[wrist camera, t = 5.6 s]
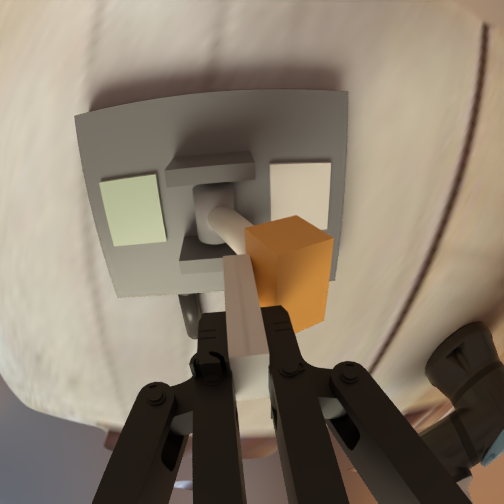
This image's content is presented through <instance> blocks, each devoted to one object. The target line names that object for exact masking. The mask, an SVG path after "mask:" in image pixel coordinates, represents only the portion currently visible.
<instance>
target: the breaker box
mask: <svg viewBox="0 0 504 504" xmlns="http://www.w3.org/2000/svg"><path fill="white" fill-rule="evenodd" d="M74 118H75V125H76V132H77V139H78V145H79V151H80V157H81V163H82V168H83V173H84V178H85V183H86V188H87V192H88V197H89V201H90V205H91V210H92V214H93V218H94V222H95V226H96V229H97V233H98V237H99V240H100V244H101V247H102V251H103V254H104V258H105V261H106V264H107V267H108V271H109V274H110V277H111V280H112V283H113V286H114V289H115V292H116V295H117V298H121V297H141V296H159V295H175V294H178V296H179V301H180V305H181V309H182V314H183V318H184V322H185V326H186V330H187V334H188V336H189V337H190V338H192V339H198V322H199V320H200V318H201V312H200V307H199V301H198V296H197V293H204V292H218V291H225V290H224V270H223V256H230V255H237V254H236V253H235V251H234V250H233V249H232V248H231V247H230V246H229V245H228V244H227V243H223V244H206V243H203V242H201V241H200V240H199V238H198V231H197V223H196V216H195V207H194V199H193V191H192V189H193V187H194V186H196V185H198V184H208V183H220V182H230V183H232V184H233V193H234V208H235V211H236V212H237V213H239V214H240V215H241V216H242V217H244V218H245V219H246V220H248V221H249V222H250V223H251V224H253V225H254V226H255V225H258V224H262V223H266V222H270V221H274V220H278V219H282V218H286V217H290V216H294V215H297V216H299V217H301V218H302V219H304V220H306V221H307V222H309V223H310V224H312V225H314V226H315V227H317V228H319V229H320V230H322V231H323V232H325V233H327V234H328V235H330V236H331V237H333V238H334V242H333V252H332V261H331V270H330V278H329V281H335V276H336V269H337V261H338V252H339V243H340V234H341V224H342V213H343V201H344V188H345V173H346V155H347V129H348V92H345V91H331V90H310V89H253V90H232V91H218V92H206V93H196V94H187V95H178V96H171V97H164V98H157V99H151V100H145V101H139V102H133V103H128V104H123V105H118V106H113V107H109V108H104V109H100V110H96V111H91V112H87V113H83V114H80V115H76V116H74Z"/></svg>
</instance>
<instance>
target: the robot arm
mask: <svg viewBox="0 0 504 504" xmlns="http://www.w3.org/2000/svg"><path fill="white" fill-rule="evenodd" d="M223 270H224V290H225V308H226V311H225V312H213V313H203V315H202V317H201V318H200V320H199V322H198V348H197V353H196V354H195V355H194V356H193V357H192V358H191V360H190V364H189V365H190V368H191V372H192V375H193V376H192V377H191V378H190V379H189V380H187V381H185V382H183V383H181V384H178V385H175V386H171V387H170V386H169V385H168V384H165V383H163V382H153V383H150V384H147V385H146V386H144V387H143V388H142V389H141V391H140V392H139V394H138V396H137V398H136V400H135V402H134V405H133V407H132V409H131V411H130V414H129V416H128V418H127V420H126V423H125V425H124V427H123V429H122V432H121V434H120V436H119V439H118V441H117V443H116V446H115V448H114V450H113V453H112V455H111V458H110V460H109V462H108V465H107V467H106V470H105V472H104V474H103V477H102V479H101V482H100V484H99V487H98V489H97V492H96V494H95V497H94V499H93V502H92V504H168V503H169V500H170V496H171V493H172V490H173V487H174V483H175V480H176V477H177V473H178V470H179V467H180V463H181V460H182V457H183V453H184V450H185V447H186V444H187V440H188V437H189V434H190V433H193V438H192V460H193V461H192V463H193V504H247V500H246V492H245V482H244V474H243V463H242V453H241V443H240V433H239V422H238V412H237V405H236V401H241V400H251V399H261V398H269V397H270V400H271V419H273V423H274V429H275V434H276V439H277V445H278V450H279V455H280V461H281V466H282V471H283V476H284V482H285V487H286V492H287V497H288V503H289V504H349V501H348V497H347V494H346V491H345V487H344V483H343V480H342V477H341V473H340V470H339V466H338V463H337V459H336V456H335V453H334V449H333V446H332V442H331V439H330V435H329V432H328V429H327V426H328V427H329V429H330V430H331V432H332V433H333V435H334V436H335V438H336V440H337V441H338V443H339V444H340V446H341V447H342V449H343V450H344V452H345V454H346V455H347V457H348V458H349V460H350V461H351V463H352V464H353V466H354V467H355V469H356V470H357V472H358V473H359V475H360V477H361V478H362V480H363V481H364V482H365V484H366V486H367V487H368V489H369V490H370V491H371V493H372V495H373V496H374V498H375V499H376V501H377V502H378V504H473V502H472V499H471V497H470V494H469V492H468V487H469V485H470V483H471V481H472V478H473V476H472V474H471V471H470V468H472V467H473V466H475V465H476V464H478V463H479V462H481V465H483V466H484V467H485V466H487V465H488V464H490V463H491V462H493V461H494V460H495V459H496V458H497V457H499V456H500V455H501V454H502V453H503V452H504V365H503V364H502V362H501V361H500V359H499V357H498V354H497V351H496V348H495V345H494V342H493V340H492V334H491V332H490V330H489V329H488V328H487V326H486V325H485V324H484V323H482V322H475V323H471V324H469V325H467V326H465V327H463V328H461V329H460V330H458V331H457V332H455V333H454V334H453V335H451V336H450V337H449V338H448V339H447V340H445V341H444V342H443V343H442V344H441V345H440V346H439V347H438V348H437V350H436V351H435V352H434V353H433V355H432V356H431V357H430V359H429V361H428V363H427V365H426V368H425V374H426V376H427V378H428V380H429V382H430V383H431V384H432V385H433V386H435V387H437V388H438V389H439V390H440V391H441V392H442V393H443V394H444V395H445V396H446V397H447V398H449V399H450V401H451V402H452V404H453V406H454V408H455V411H454V412H452V413H451V414H449V415H447V416H446V417H444V418H443V419H441V420H440V421H438V422H437V423H435V424H433V425H432V426H430V427H428V428H427V429H425V430H423V431H422V432H420V433H418V434H417V432H416V431H415V430H414V429H413V427H412V426H411V425H410V424H409V422H408V421H407V420H406V419H405V417H404V416H403V415H402V414H401V412H400V411H399V410H398V409H397V407H396V406H395V405H394V404H393V402H392V401H391V400H390V399H389V397H388V396H387V395H386V394H385V393H384V391H383V390H382V389H381V388H380V386H379V385H378V384H377V383H376V381H375V380H374V379H373V378H372V377H371V375H370V374H369V373H368V372H367V370H366V369H365V368H364V367H363V366H361V365H360V364H358V363H356V362H351V361H345V362H341V363H339V364H337V365H336V366H335V367H334V368H333V369H325V368H318V367H314V366H312V365H310V364H308V363H307V362H306V361H305V360H304V359H303V358H302V356H301V353H300V350H299V346H298V343H297V340H296V336H295V333H294V330H293V326H292V323H291V320H290V316H289V313H288V311H287V310H286V309H285V308H284V307H283V306H282V305H277V306H268V307H260V304H259V299H258V294H257V289H256V284H255V279H254V274H253V269H252V263H251V258H250V255H249V254H241V255H230V256H223ZM326 424H327V425H326Z"/></svg>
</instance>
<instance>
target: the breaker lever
mask: <svg viewBox="0 0 504 504" xmlns="http://www.w3.org/2000/svg"><path fill="white" fill-rule="evenodd" d="M192 191H193V199H194V207H195V216H196V223H197V231H198V238H199V240H200V241H201V242H203V243H206V244H223V243H227V244H228V245H229V246H230V247H231V248H232V249H233V250H234V251H235V253H236V254H237V255H241V254H249V255H250V258H251V263H252V269H253V274H254V279H255V284H256V289H257V294H258V299H259V304H260V307H268V306H277V305H282V306H283V307H284V308H285V309H286V310H287V311H288V313H289V316H290V320H291V323H292V326H293V330H294V333H297V332H300V331H302V330H304V329H306V328H309V327H311V326H313V325H315V324H317V323H319V322H322V321H324V316H325V309H326V302H327V294H328V287H329V278H330V270H331V261H332V252H333V242H334V238H333V237H331V236H330V235H328V234H327V233H325V232H323V231H322V230H320V229H319V228H317V227H315V226H314V225H312V224H310V223H309V222H307V221H306V220H304V219H302V218H301V217H299V216H297V215H294V216H290V217H286V218H282V219H278V220H274V221H270V222H266V223H262V224H258V225H255V226H254V225H253V224H251V223H250V222H249V221H248V220H246V219H245V218H244V217H242V216H241V215H240V214H239V213H237V212H236V211H235V208H234V193H233V184H232V183H230V182H220V183H208V184H198V185H196V186H194V187H193V189H192Z"/></svg>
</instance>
